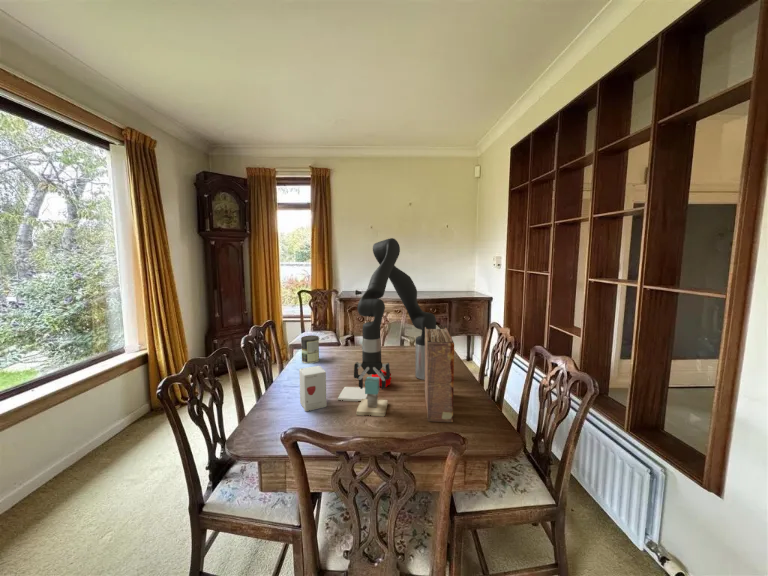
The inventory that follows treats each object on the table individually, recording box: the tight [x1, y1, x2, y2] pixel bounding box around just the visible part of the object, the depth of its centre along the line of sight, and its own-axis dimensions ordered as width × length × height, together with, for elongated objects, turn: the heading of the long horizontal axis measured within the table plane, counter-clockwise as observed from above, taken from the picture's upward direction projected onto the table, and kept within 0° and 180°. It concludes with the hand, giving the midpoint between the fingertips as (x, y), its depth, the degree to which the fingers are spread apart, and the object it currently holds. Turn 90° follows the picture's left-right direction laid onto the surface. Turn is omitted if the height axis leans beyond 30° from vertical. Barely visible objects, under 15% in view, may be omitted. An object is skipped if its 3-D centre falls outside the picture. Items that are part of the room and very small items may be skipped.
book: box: [424, 327, 455, 423], centre depth 127 cm, size 25×9×30 cm, turn 175°
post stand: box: [355, 394, 389, 417], centre depth 126 cm, size 11×11×12 cm
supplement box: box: [299, 365, 327, 412], centre depth 130 cm, size 9×9×15 cm
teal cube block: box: [364, 376, 380, 395], centre depth 126 cm, size 5×5×5 cm
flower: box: [371, 369, 392, 388], centre depth 150 cm, size 8×8×8 cm
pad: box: [337, 386, 367, 402], centre depth 140 cm, size 12×12×1 cm
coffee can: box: [300, 335, 320, 364], centre depth 187 cm, size 10×10×14 cm
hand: (372, 388), depth 126 cm, fingers open, 8 cm apart
